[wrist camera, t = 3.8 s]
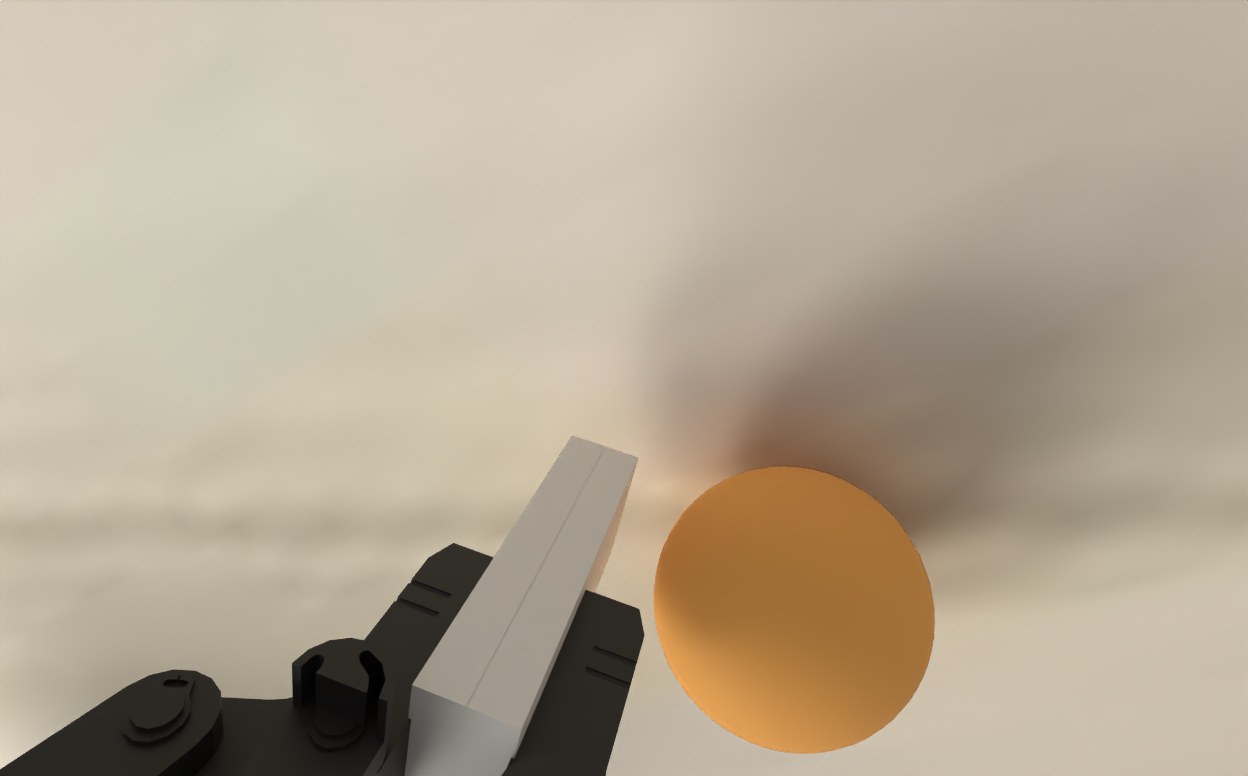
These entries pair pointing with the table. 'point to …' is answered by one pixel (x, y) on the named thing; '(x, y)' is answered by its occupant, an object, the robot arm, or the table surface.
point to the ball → (794, 609)
